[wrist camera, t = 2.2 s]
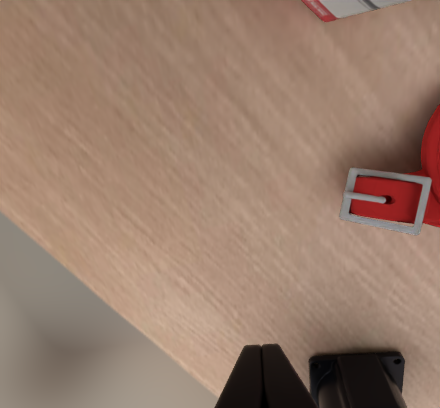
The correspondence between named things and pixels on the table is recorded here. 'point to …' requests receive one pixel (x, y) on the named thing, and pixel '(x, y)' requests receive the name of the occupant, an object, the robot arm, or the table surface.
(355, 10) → the ink box
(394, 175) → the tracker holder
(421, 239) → the table surface
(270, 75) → the table surface
